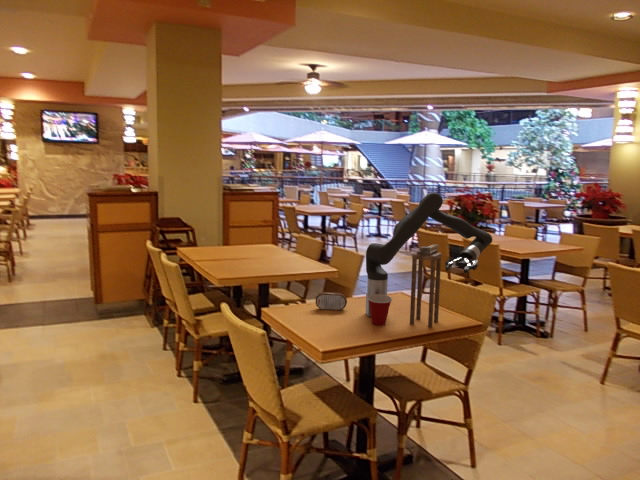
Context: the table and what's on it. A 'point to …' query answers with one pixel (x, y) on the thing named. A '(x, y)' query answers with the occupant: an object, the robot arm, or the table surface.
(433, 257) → the walnut stand
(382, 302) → the plastic cup
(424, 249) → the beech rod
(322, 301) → the tin
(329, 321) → the table surface
